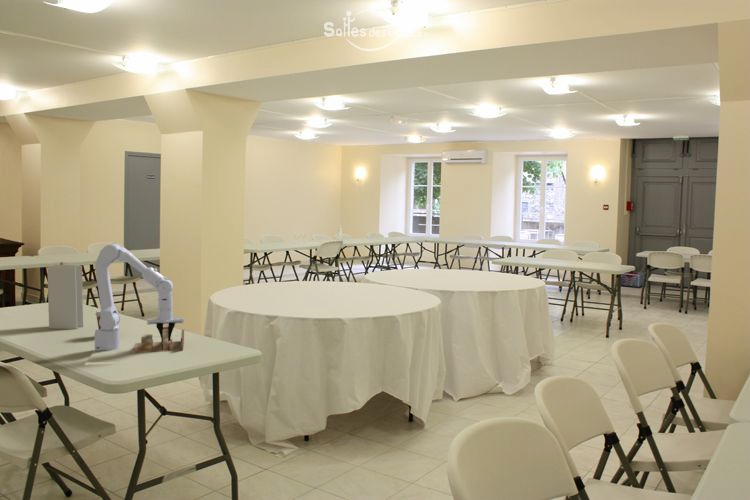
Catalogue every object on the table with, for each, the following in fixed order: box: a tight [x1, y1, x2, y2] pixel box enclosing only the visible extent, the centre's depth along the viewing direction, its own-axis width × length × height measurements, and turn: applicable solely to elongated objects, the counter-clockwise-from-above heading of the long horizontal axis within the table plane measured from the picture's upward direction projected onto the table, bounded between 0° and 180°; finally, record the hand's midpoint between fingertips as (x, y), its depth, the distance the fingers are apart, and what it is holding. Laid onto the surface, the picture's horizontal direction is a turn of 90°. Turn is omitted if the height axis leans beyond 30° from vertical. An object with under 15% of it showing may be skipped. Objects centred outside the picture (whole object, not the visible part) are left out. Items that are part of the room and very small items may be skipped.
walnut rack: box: [130, 329, 185, 354], centre depth 263 cm, size 20×18×6 cm
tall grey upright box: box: [46, 264, 84, 330], centre depth 304 cm, size 14×6×30 cm, turn 84°
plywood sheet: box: [163, 324, 170, 349], centre depth 263 cm, size 2×10×8 cm, turn 15°
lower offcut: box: [140, 339, 154, 350], centre depth 262 cm, size 4×7×2 cm, turn 15°
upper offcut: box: [140, 333, 154, 343], centre depth 261 cm, size 4×5×2 cm
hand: (166, 340), depth 264 cm, fingers closed on plywood sheet, 2 cm apart
